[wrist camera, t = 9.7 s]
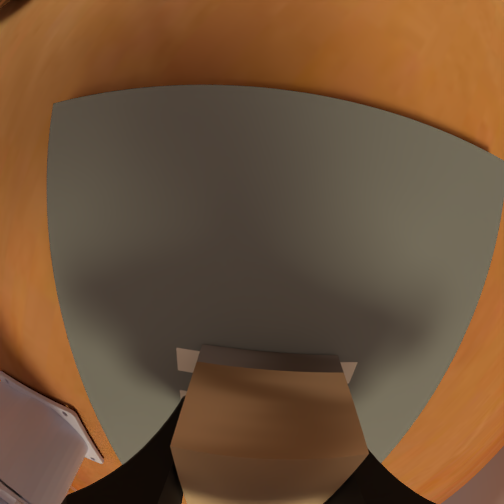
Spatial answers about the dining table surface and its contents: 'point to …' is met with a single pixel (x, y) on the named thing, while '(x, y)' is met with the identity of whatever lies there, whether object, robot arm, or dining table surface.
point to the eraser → (266, 429)
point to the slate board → (263, 245)
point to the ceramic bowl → (3, 2)
